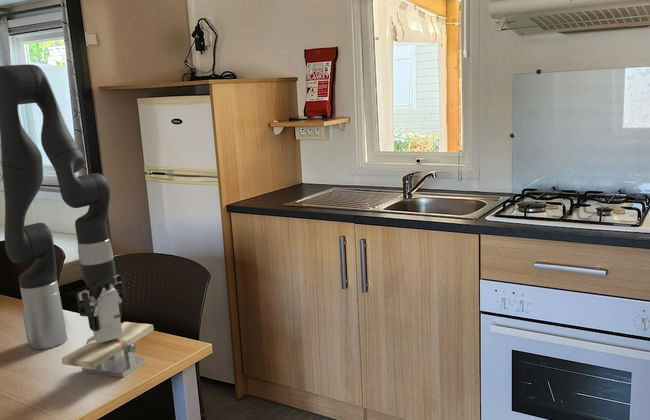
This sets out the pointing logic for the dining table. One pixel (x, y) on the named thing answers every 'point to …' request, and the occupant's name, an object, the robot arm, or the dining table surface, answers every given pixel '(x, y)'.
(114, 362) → the pivot stand
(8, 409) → the dining table surface
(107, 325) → the skincare box
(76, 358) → the balance beam
